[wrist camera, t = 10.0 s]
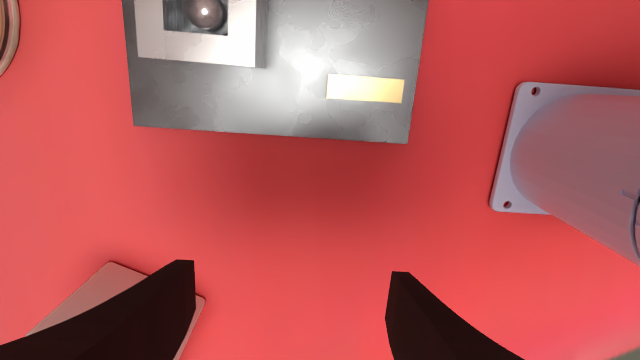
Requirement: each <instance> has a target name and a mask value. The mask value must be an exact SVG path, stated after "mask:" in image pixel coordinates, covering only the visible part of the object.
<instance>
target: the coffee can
mask: <svg viewBox="0 0 640 360" xmlns="http://www.w3.org/2000/svg"><path fill="white" fill-rule="evenodd" d="M19 28H20V14H19V7H18V2H17V0H0V76H1V75H2V74H3V72H4V71H5V70H6V68H7V67H8V66H9V64H10V62H11V60H12V58H13V56H14V54H15V51H16V48H17V46H18V41H19Z"/></svg>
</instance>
